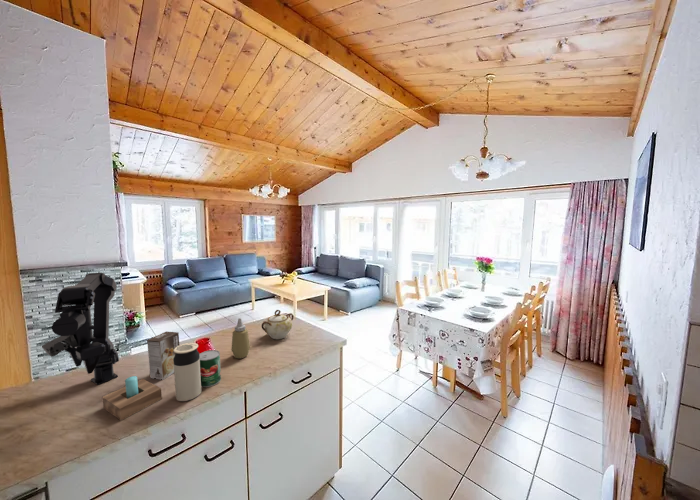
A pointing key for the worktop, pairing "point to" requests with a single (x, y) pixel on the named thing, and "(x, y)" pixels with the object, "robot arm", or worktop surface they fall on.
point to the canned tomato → (210, 368)
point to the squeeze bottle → (240, 340)
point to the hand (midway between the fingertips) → (84, 369)
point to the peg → (131, 386)
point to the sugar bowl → (278, 325)
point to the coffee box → (162, 354)
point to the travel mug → (187, 371)
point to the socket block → (131, 400)
